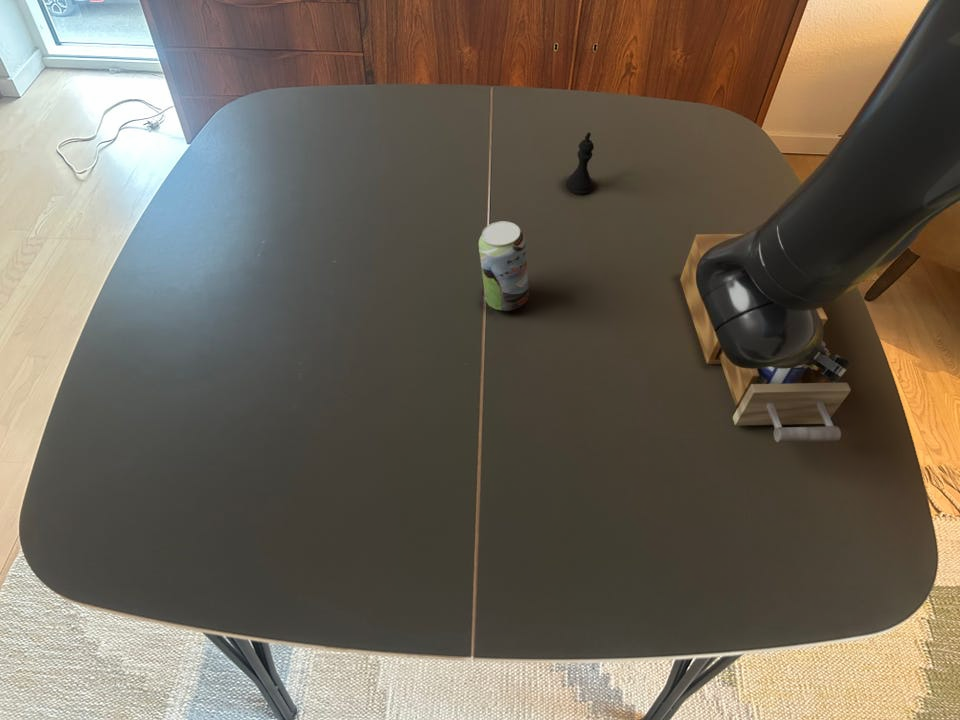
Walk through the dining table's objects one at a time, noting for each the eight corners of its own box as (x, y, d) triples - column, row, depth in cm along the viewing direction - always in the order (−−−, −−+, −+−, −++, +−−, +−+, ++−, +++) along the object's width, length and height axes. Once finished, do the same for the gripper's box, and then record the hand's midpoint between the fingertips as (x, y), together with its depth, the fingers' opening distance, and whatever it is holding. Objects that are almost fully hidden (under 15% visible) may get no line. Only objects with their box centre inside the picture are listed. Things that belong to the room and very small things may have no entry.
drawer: (841, 459, 83) (868, 427, 78) (746, 461, 82) (767, 429, 77) (788, 333, 95) (808, 298, 90) (705, 334, 95) (720, 299, 89)
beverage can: (520, 322, 96) (528, 256, 87) (469, 308, 97) (471, 241, 88) (533, 290, 100) (542, 224, 90) (484, 277, 101) (487, 211, 92)
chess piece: (560, 188, 115) (569, 134, 107) (573, 175, 117) (582, 120, 109) (585, 198, 113) (595, 144, 105) (597, 184, 116) (608, 130, 108)
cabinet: (800, 362, 93) (827, 318, 87) (706, 364, 93) (727, 320, 86) (764, 278, 103) (787, 233, 96) (679, 279, 102) (696, 234, 96)
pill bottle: (795, 370, 89) (825, 323, 82) (791, 402, 86) (822, 356, 79) (753, 358, 90) (779, 310, 83) (747, 388, 87) (774, 341, 80)
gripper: (871, 338, 66) (872, 355, 81) (741, 257, 72) (764, 286, 87) (818, 402, 68) (828, 407, 82) (695, 317, 74) (726, 336, 89)
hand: (795, 345), depth 85 cm, fingers closed on pill bottle, 5 cm apart
